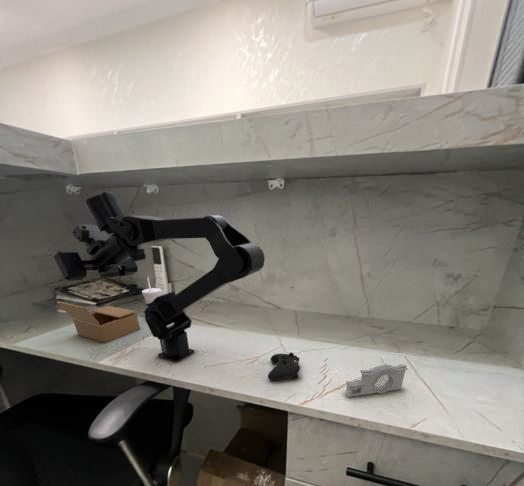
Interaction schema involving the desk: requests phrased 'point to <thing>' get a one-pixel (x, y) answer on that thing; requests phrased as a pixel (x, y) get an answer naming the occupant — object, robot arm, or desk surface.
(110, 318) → the cardboard box
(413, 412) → the desk surface
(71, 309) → the flap
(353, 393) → the garden wall model
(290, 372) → the game controller
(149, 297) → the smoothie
